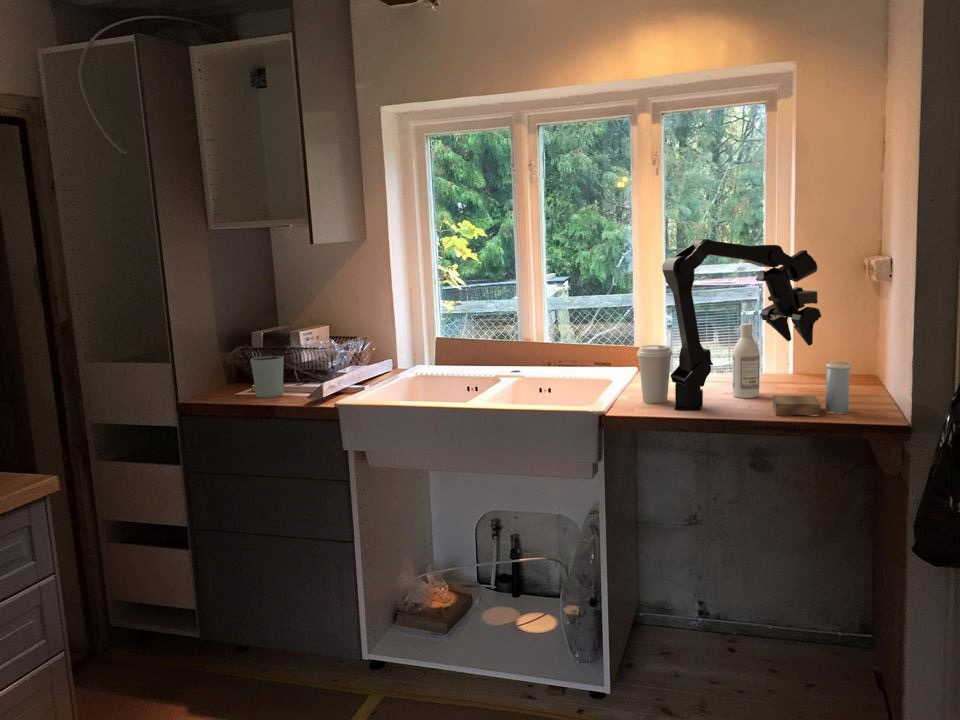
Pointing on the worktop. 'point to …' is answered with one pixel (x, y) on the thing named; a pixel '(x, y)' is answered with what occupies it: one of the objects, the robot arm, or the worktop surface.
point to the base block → (796, 405)
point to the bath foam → (746, 365)
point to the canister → (837, 387)
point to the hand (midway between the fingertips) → (799, 342)
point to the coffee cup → (654, 372)
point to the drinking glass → (268, 376)
